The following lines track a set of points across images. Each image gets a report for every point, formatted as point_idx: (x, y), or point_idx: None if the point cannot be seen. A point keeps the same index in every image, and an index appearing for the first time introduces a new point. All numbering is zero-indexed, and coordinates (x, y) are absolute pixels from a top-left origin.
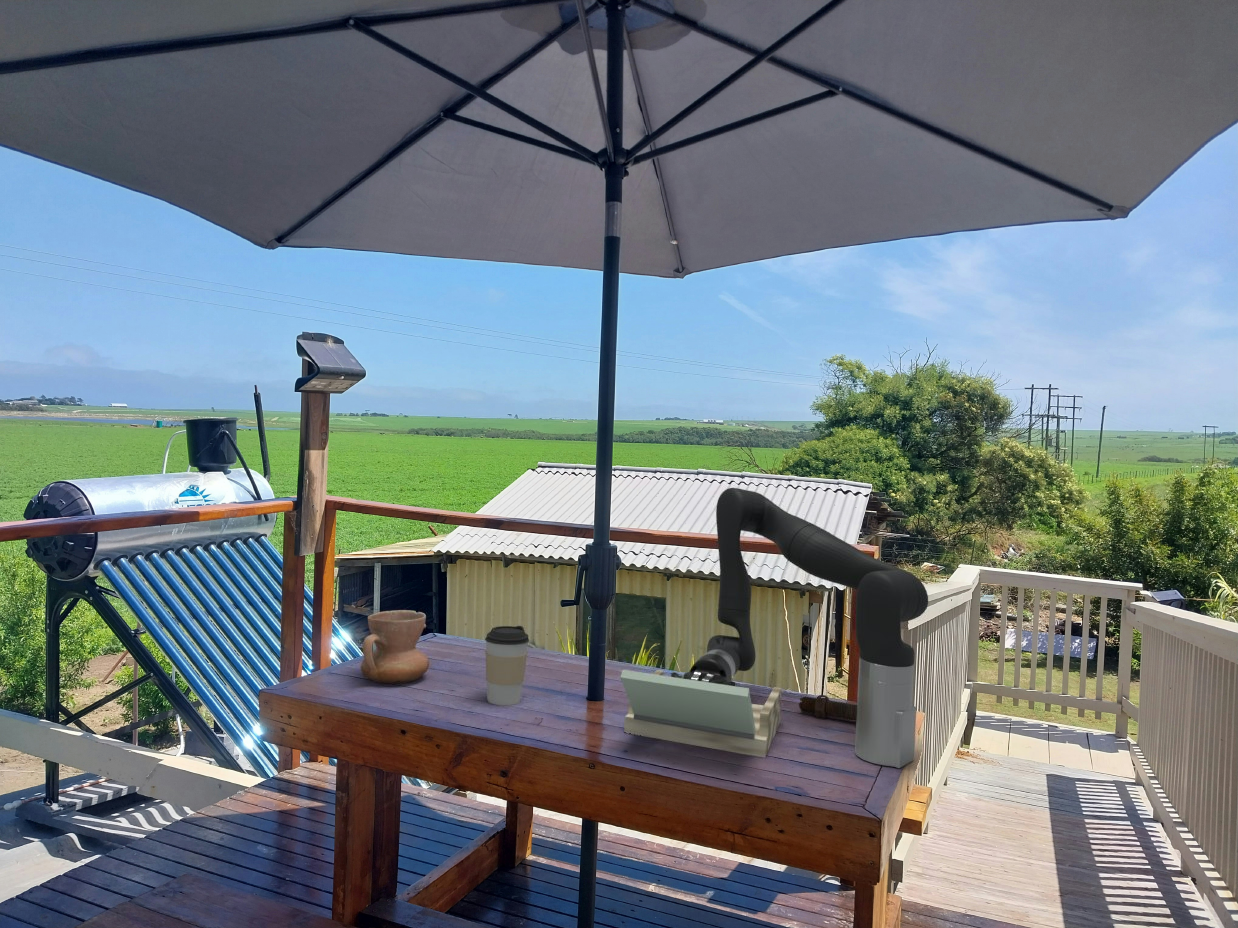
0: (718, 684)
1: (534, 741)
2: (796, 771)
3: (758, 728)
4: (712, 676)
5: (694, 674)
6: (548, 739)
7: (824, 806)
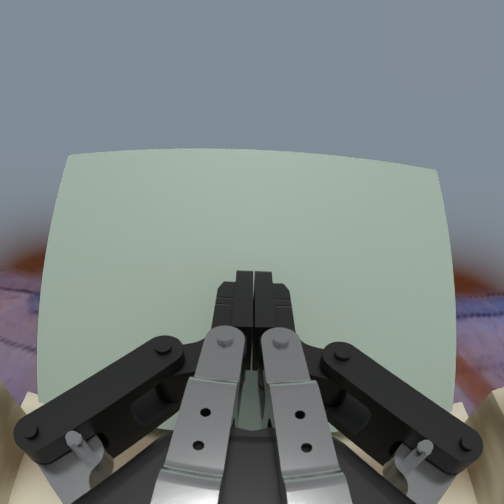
0: (146, 151)
1: (487, 309)
2: (9, 363)
3: (25, 483)
4: (165, 464)
5: (327, 453)
6: (485, 323)
7: (27, 276)
